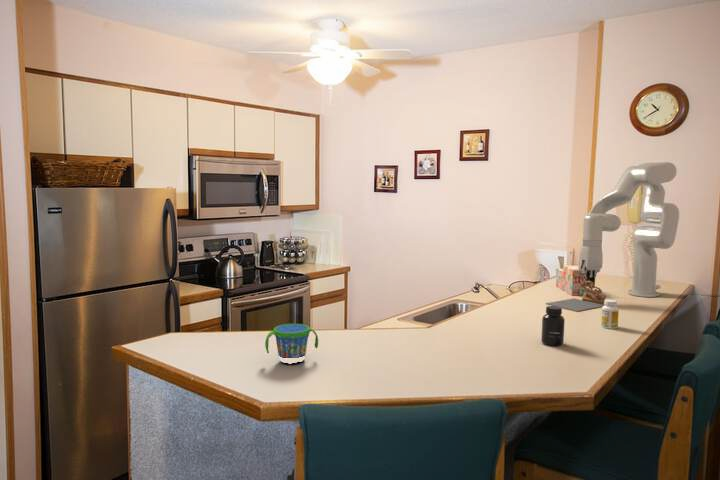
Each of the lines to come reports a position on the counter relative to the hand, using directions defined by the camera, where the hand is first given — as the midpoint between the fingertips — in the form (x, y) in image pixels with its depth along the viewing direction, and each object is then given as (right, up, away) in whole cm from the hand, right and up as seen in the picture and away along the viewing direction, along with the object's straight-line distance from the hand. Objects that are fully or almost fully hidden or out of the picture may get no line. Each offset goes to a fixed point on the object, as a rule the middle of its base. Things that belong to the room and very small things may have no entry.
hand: (590, 286), depth 230 cm
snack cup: (-119, -16, -71) cm, 140 cm away
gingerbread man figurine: (+2, -6, +2) cm, 6 cm away
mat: (-8, -8, -4) cm, 12 cm away
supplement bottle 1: (-37, -14, -56) cm, 69 cm away
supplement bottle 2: (-9, -12, -38) cm, 40 cm away
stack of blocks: (+1, -5, +25) cm, 26 cm away
